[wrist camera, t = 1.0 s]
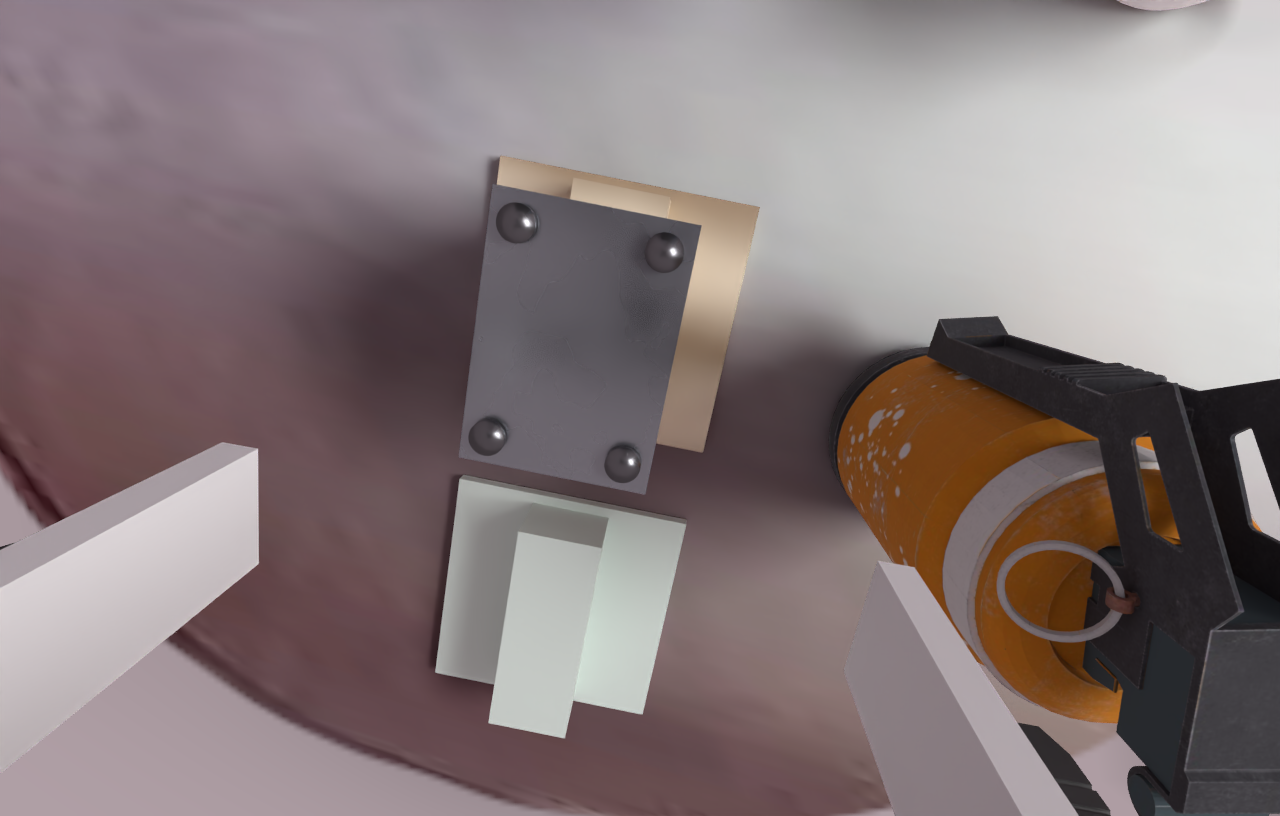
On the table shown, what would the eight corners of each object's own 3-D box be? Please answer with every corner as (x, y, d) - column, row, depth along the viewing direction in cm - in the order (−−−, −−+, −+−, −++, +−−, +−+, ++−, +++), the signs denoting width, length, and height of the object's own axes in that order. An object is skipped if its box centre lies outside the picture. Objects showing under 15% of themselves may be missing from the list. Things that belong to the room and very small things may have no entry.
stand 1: (503, 157, 30) (478, 145, 26) (758, 207, 30) (770, 203, 26) (472, 402, 33) (445, 425, 29) (702, 448, 33) (705, 477, 29)
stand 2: (463, 474, 34) (436, 504, 30) (686, 519, 34) (687, 555, 30) (438, 665, 37) (411, 715, 33) (642, 707, 37) (639, 761, 33)
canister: (824, 519, 34) (1022, 899, 14) (827, 305, 31) (1079, 421, 12) (1002, 513, 33) (1458, 903, 14) (1022, 295, 30) (1631, 400, 11)
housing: (539, 196, 26) (488, 182, 19) (695, 228, 26) (702, 225, 19) (509, 405, 29) (454, 461, 22) (652, 434, 29) (644, 499, 22)
